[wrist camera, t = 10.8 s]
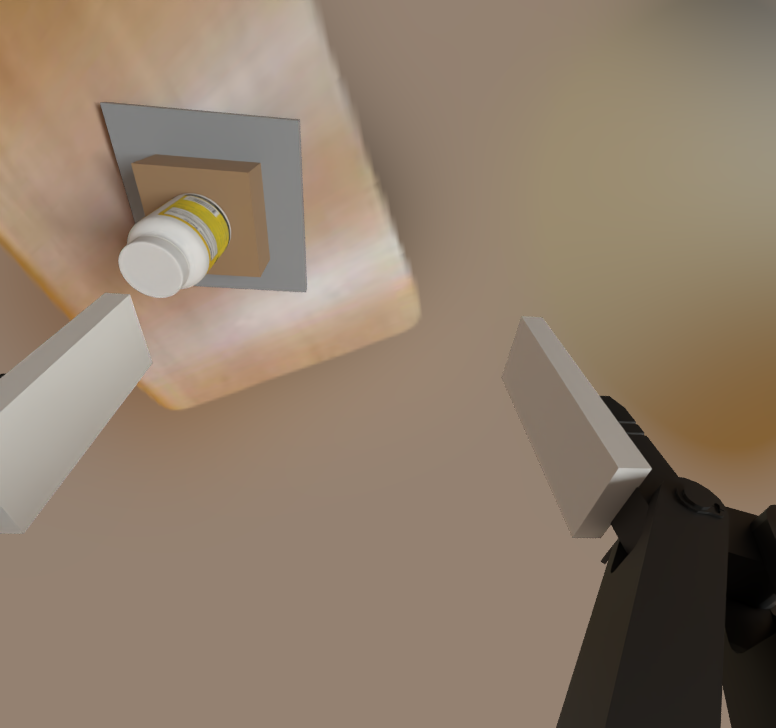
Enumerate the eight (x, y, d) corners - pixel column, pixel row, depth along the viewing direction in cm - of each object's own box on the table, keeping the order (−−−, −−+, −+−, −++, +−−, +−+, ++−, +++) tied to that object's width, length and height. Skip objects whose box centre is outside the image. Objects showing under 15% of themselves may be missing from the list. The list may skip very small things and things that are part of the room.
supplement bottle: (185, 260, 36) (132, 312, 28) (155, 197, 32) (86, 237, 24) (242, 250, 35) (206, 300, 27) (218, 186, 32) (168, 222, 24)
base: (106, 101, 33) (65, 106, 28) (299, 119, 34) (289, 126, 30) (156, 279, 42) (132, 303, 38) (307, 288, 44) (300, 312, 39)
